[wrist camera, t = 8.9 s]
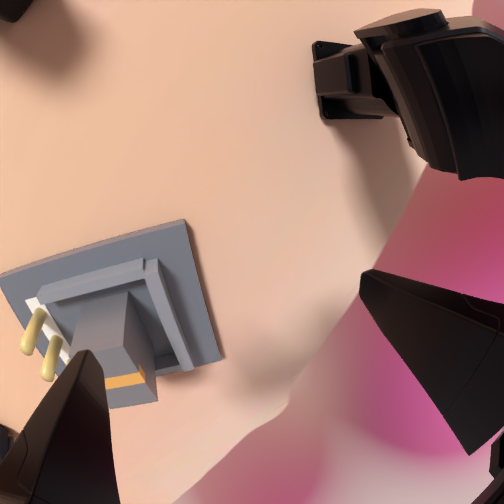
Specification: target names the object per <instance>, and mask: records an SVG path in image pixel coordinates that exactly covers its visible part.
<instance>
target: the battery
mask: <svg viewBox="0 0 504 504" xmlns="http://www.w3.org/2000/svg"><path fill="white" fill-rule="evenodd" d="M32 1H33V0H0V19H2V20H5V21H8V22H11V23H13V22H16V21H17V20H18V19H19V18H20V16H21V15H22V14H23V12H24V11H25V10H26V8H27V7H28V6H29V5H30V3H31V2H32Z"/></svg>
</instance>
